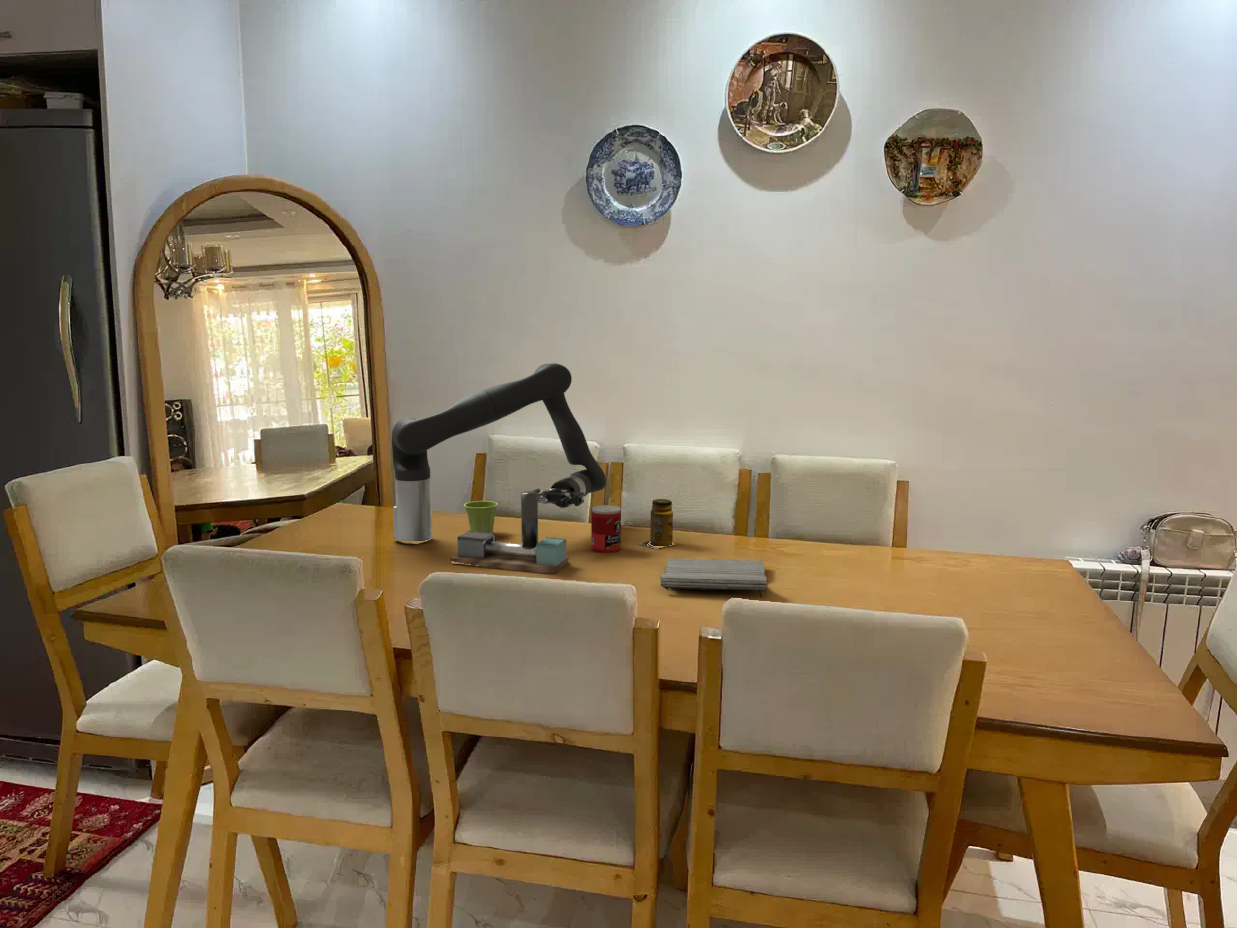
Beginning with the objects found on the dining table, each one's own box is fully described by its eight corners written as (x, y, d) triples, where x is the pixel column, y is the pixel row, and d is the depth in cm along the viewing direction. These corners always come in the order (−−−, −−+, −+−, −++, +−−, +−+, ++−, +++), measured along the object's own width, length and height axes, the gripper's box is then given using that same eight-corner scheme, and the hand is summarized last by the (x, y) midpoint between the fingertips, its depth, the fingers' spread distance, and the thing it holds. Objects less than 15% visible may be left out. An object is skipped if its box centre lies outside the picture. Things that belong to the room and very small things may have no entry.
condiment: (679, 544, 221) (680, 500, 219) (657, 550, 215) (658, 505, 213) (659, 539, 226) (660, 496, 224) (638, 544, 221) (638, 501, 219)
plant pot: (458, 537, 227) (457, 506, 226) (474, 529, 236) (473, 499, 235) (489, 539, 225) (488, 508, 223) (503, 531, 233) (503, 501, 232)
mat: (763, 570, 200) (764, 551, 199) (766, 602, 177) (767, 581, 176) (668, 565, 203) (668, 547, 202) (659, 596, 180) (659, 575, 179)
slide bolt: (478, 555, 202) (476, 491, 199) (485, 551, 206) (483, 488, 203) (553, 562, 196) (553, 496, 194) (559, 558, 200) (559, 493, 198)
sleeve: (457, 556, 202) (457, 536, 202) (469, 549, 208) (469, 530, 208) (483, 558, 200) (483, 539, 200) (494, 552, 206) (494, 532, 206)
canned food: (609, 554, 210) (609, 513, 209) (585, 549, 215) (585, 508, 213) (626, 548, 216) (627, 507, 215) (603, 543, 221) (603, 503, 219)
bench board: (450, 563, 201) (450, 557, 201) (469, 553, 211) (469, 547, 210) (553, 574, 194) (553, 567, 193) (568, 562, 203) (568, 556, 203)
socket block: (536, 564, 196) (536, 543, 195) (547, 556, 203) (546, 537, 202) (556, 566, 195) (555, 545, 194) (566, 558, 201) (566, 538, 200)
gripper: (544, 476, 226) (520, 486, 210) (593, 479, 222) (572, 490, 206) (544, 502, 227) (520, 514, 212) (592, 506, 223) (572, 519, 207)
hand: (545, 502), depth 209 cm, fingers open, 8 cm apart
